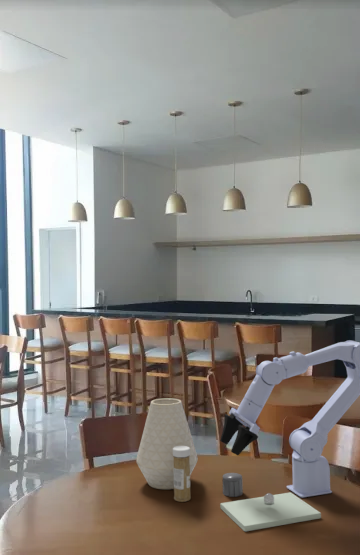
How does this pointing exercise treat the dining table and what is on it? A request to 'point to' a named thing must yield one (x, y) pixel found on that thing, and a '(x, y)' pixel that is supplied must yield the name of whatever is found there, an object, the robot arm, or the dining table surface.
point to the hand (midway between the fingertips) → (228, 448)
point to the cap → (232, 484)
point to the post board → (269, 511)
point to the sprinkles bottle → (181, 473)
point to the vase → (164, 442)
